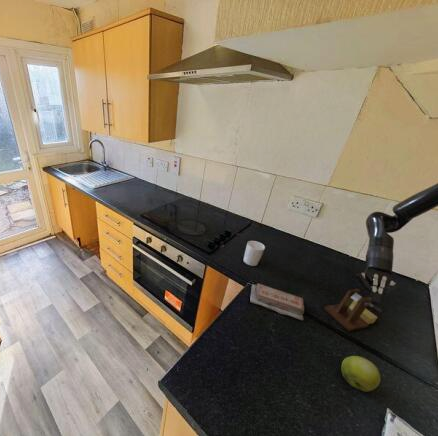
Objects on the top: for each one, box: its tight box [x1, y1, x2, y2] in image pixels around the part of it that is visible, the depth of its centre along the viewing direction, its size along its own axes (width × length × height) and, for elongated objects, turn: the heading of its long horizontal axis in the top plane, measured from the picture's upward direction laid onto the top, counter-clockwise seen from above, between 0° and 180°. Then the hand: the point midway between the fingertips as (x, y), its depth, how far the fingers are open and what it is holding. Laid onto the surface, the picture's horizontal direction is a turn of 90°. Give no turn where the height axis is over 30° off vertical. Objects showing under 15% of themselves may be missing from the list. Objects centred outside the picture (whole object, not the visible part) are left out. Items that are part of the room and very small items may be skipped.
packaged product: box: [249, 283, 305, 321], centre depth 88 cm, size 18×5×10 cm
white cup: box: [243, 240, 266, 267], centre depth 110 cm, size 8×8×10 cm
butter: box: [349, 301, 378, 325], centre depth 86 cm, size 4×8×3 cm, turn 13°
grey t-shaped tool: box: [350, 293, 384, 314], centre depth 83 cm, size 15×6×2 cm, turn 103°
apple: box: [340, 355, 381, 393], centre depth 63 cm, size 8×9×8 cm
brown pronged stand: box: [323, 288, 372, 332], centre depth 82 cm, size 9×10×12 cm
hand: (374, 303), depth 85 cm, fingers closed
